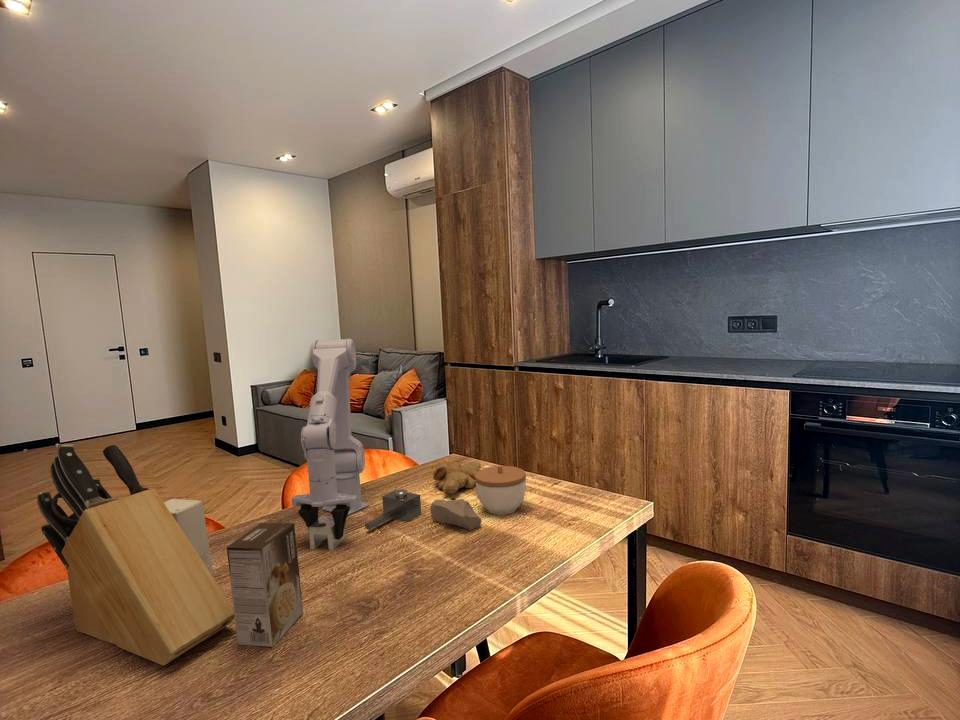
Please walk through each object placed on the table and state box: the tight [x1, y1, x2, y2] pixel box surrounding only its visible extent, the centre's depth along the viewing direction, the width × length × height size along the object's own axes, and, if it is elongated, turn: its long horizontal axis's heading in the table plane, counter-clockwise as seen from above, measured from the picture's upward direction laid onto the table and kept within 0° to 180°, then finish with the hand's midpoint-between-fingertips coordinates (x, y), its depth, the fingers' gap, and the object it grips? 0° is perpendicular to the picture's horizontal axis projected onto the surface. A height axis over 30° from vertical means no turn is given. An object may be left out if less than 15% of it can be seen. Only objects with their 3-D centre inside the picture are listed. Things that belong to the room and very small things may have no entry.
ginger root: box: [432, 462, 482, 494], centre depth 145 cm, size 16×16×8 cm
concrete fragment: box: [429, 497, 482, 531], centre depth 120 cm, size 7×14×6 cm, turn 38°
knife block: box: [36, 443, 235, 666], centre depth 84 cm, size 11×35×31 cm, turn 64°
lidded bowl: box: [474, 464, 527, 516], centre depth 126 cm, size 13×13×11 cm
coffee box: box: [226, 522, 304, 648], centre depth 82 cm, size 9×6×16 cm
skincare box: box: [163, 498, 214, 576], centre depth 99 cm, size 8×7×16 cm
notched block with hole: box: [308, 515, 346, 551], centre depth 113 cm, size 5×6×5 cm
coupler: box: [364, 488, 422, 531], centre depth 123 cm, size 8×14×6 cm, turn 145°
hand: (327, 537), depth 113 cm, fingers closed on notched block with hole, 5 cm apart
